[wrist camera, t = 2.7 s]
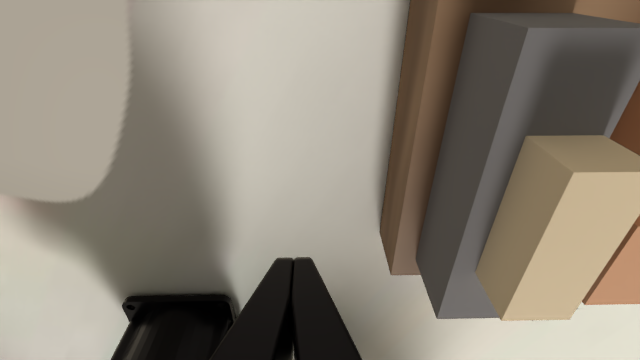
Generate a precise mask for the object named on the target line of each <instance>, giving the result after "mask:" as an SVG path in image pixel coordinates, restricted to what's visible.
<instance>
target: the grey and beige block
mask: <svg viewBox="0 0 640 360" xmlns="http://www.w3.org/2000/svg"><path fill="white" fill-rule="evenodd" d="M639 81H640V24H639V23H633V22H626V21H620V20H614V19H608V18H601V17H595V16H589V15H582V14H576V13H471V14H470V18H469V23H468V27H467V32H466V36H465V41H464V45H463V50H462V54H461V58H460V63H459V67H458V72H457V76H456V81H455V85H454V90H453V94H452V99H451V103H450V108H449V112H448V117H447V121H446V126H445V130H444V135H443V139H442V144H441V148H440V152H439V157H438V161H437V166H436V170H435V175H434V179H433V184H432V188H431V193H430V197H429V202H428V206H427V211H426V215H425V220H424V224H423V229H422V233H421V238H420V242H419V246H418V251H417V255H416V262H417V265H418V268H419V271H420V273H421V276H422V279H423V282H424V284H425V287H426V290H427V293H428V296H429V298H430V301H431V304H432V307H433V309H434V312H435V315H436V318H437V319H458V318H500V319H501V321H514V320H570V318H571V317H572V315H573V314H574V312H575V311H576V309H577V308H578V306H579V305H580V303H581V302H582V300H583V299H584V297H585V296H586V294H587V293H588V291H589V290H590V288H591V287H592V285H593V284H594V282H595V281H596V279H597V278H598V276H599V275H600V273H601V272H602V270H603V269H604V267H605V266H606V264H607V263H608V261H609V260H610V258H611V257H612V255H613V254H614V252H615V251H616V249H617V248H618V246H619V245H620V243H621V242H622V240H623V239H624V237H625V236H626V234H627V233H628V231H629V230H630V228H631V227H632V225H633V224H634V222H635V221H636V219H637V218H638V216H639V215H640V156H639V155H638V154H636V153H634V152H632V151H630V150H629V149H627V148H625V147H623V146H622V145H620V144H618V143H616V142H614V141H613V140H611V139H609V138H610V136H611V134H612V133H613V131H614V129H615V127H616V125H617V123H618V121H619V119H620V117H621V115H622V113H623V112H624V110H625V108H626V106H627V104H628V102H629V100H630V98H631V96H632V94H633V92H634V90H635V89H636V87H637V85H638V83H639Z"/></svg>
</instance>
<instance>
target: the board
mask: <svg viewBox="0 0 640 360" xmlns="http://www.w3.org/2000/svg"><path fill="white" fill-rule="evenodd" d="M471 13H576V14H582V15H589V16H595V17H601V18H608V19H614V20H620V21H626V22H633V23H639V24H640V0H410V8H409V15H408V23H407V31H406V38H405V46H404V53H403V61H402V68H401V76H400V83H399V91H398V98H397V106H396V113H395V121H394V128H393V136H392V143H391V151H390V159H389V166H388V174H387V181H386V189H385V196H384V204H383V211H382V219H381V226H380V235H381V239H382V243H383V247H384V251H385V254H386V258H387V262H388V266H389V270H390V274H391V275H421V273H420V271H419V268H418V265H417V262H416V255H417V251H418V246H419V242H420V238H421V233H422V229H423V224H424V220H425V215H426V211H427V206H428V202H429V197H430V193H431V188H432V184H433V179H434V175H435V170H436V166H437V161H438V157H439V152H440V148H441V144H442V139H443V135H444V130H445V126H446V121H447V117H448V112H449V108H450V103H451V99H452V94H453V90H454V85H455V81H456V76H457V72H458V67H459V63H460V58H461V54H462V50H463V45H464V41H465V36H466V32H467V27H468V23H469V18H470V14H471ZM609 139H610V138H609ZM611 140H612V139H611ZM613 141H614V140H613ZM614 142H615V141H614ZM616 143H617V142H616ZM618 144H619V143H618ZM620 145H621V144H620ZM623 147H624V146H623ZM625 148H626V147H625ZM627 149H628V148H627ZM629 150H630V149H629ZM630 151H631V150H630ZM632 152H633V151H632ZM634 153H635V152H634ZM636 154H637V153H636ZM638 155H639V154H638ZM639 156H640V155H639Z"/></svg>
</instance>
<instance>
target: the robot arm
mask: <svg viewBox="0 0 640 360" xmlns="http://www.w3.org/2000/svg"><path fill="white" fill-rule="evenodd" d="M122 308H123V310H124V312H125V314H126V316H127V318H128V320H129V322H130V323H129V325H128V327H127V329H126V331H125V333H124V335H123V337H122V339H121V340H120V342H119V344H118V346H117V348H116V350H115V352H114V354H113V356H112V358H111V360H293V350H294V358H295V360H362V358H361V356H360V354H359V352H358V350H357V348H356V346H355V344H354V342H353V340H352V338H351V336H350V334H349V332H348V330H347V328H346V326H345V324H344V322H343V320H342V318H341V316H340V314H339V312H338V310H337V308H336V306H335V304H334V302H333V300H332V298H331V296H330V294H329V292H328V290H327V288H326V286H325V284H324V282H323V280H322V278H321V276H320V274H319V272H318V270H317V268H316V266H315V264H314V262H313V260H312V259H311V258H310V257H298V258H295V259H294V260H293V258H277V259H276V260H275V261H274V263H273V264H272V266H271V267H270V269H269V270H268V272H267V273H266V275H265V276H264V278H263V279H262V281H261V282H260V284H259V285H258V287H257V288H256V290H255V291H254V293H253V295H252V296H251V298H250V299H249V301H248V302H247V304H246V305H245V307H244V308H243V310H242V311H241V313H240V314H239V316H238V317H237V319H235V314H234V310H233V305H232V300H231V298H229V297H228V296H226V295H194V296H132V297H127V298H126V299H125V301H124V303H123V305H122Z"/></svg>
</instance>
